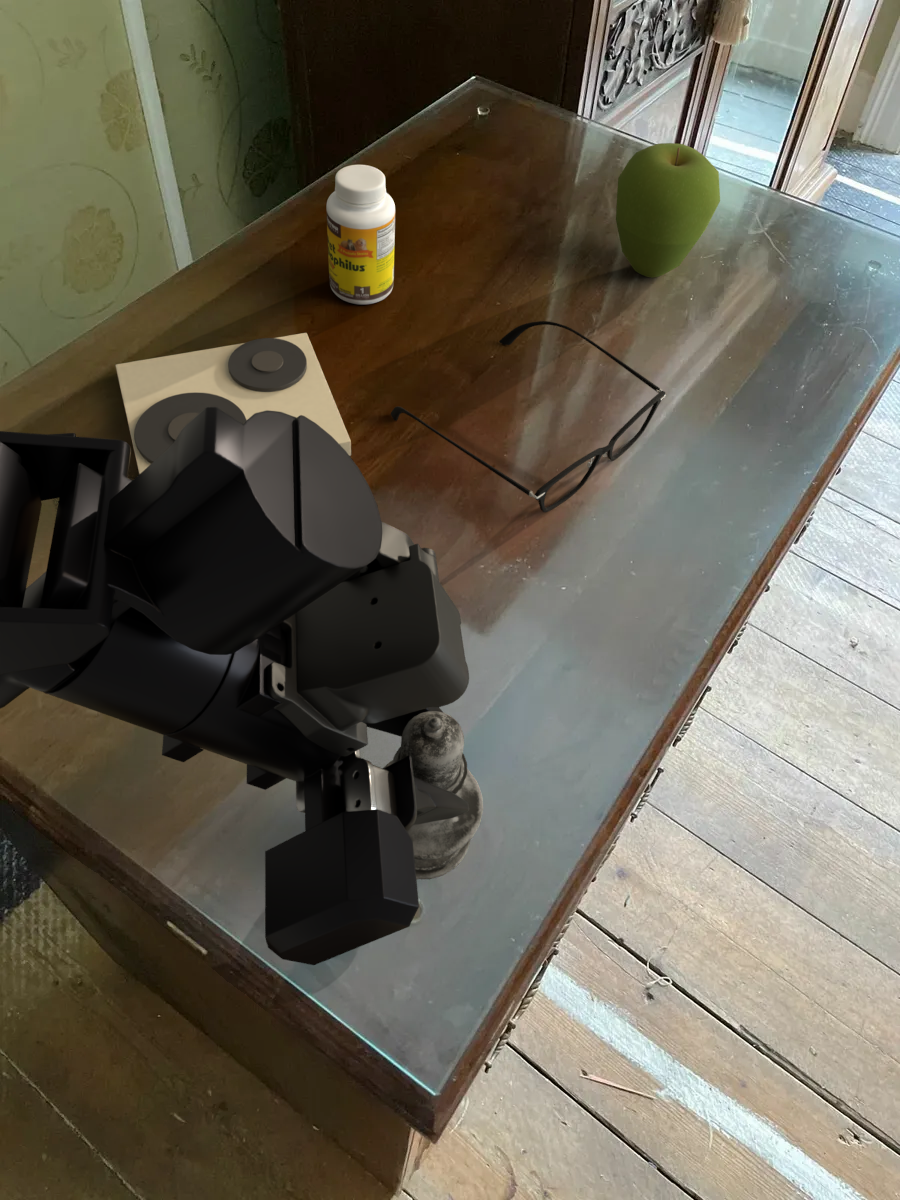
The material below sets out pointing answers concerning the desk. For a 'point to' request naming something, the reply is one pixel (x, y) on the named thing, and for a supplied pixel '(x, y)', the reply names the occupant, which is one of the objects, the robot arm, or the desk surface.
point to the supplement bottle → (361, 236)
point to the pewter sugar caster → (443, 765)
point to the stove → (225, 390)
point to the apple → (664, 205)
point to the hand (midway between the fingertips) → (457, 774)
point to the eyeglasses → (596, 453)
